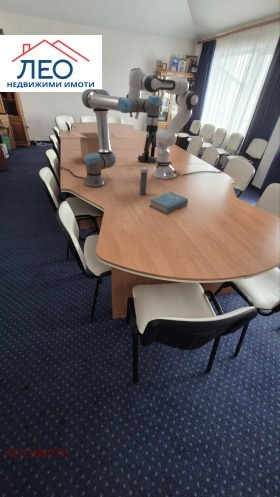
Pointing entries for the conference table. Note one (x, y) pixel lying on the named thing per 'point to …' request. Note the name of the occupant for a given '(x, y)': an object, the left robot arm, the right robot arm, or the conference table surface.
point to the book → (168, 202)
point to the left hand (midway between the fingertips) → (149, 158)
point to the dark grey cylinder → (143, 183)
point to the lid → (144, 169)
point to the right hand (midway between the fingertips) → (133, 118)
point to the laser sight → (151, 159)
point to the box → (88, 142)
